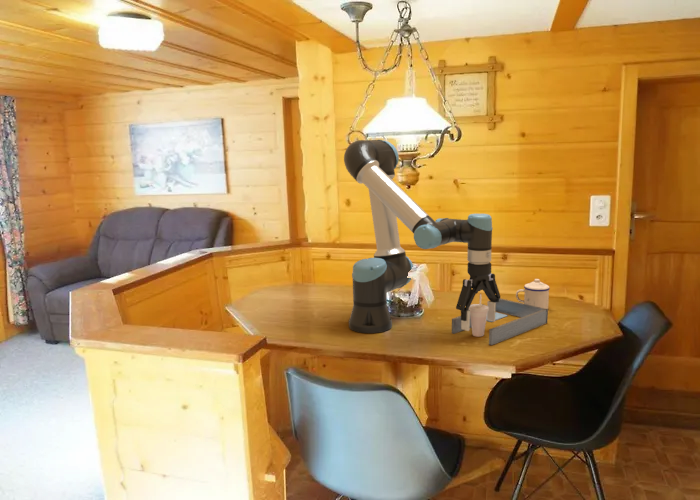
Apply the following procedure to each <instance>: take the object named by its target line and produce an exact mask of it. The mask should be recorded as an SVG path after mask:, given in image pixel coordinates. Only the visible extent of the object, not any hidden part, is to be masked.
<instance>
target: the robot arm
mask: <svg viewBox="0 0 700 500" xmlns="http://www.w3.org/2000/svg"><path fill="white" fill-rule="evenodd" d="M399 158H400V157H399V152H398V150H397V148H396V146H395V145H394V144H393V143H392V142H390V141H388V140H383V139H369V140H368V139H367V140H366V139H359V140H355V141H353V142H352V143H350V144H349V145H348V147H347V148H346V149H345V151H344V156H343V164H344V166H345V169H346V170H347V172H348V173H349V174H350V176H351V177H352V178H353V179H354V180H355V181H356V183H358V184H361V185H362V184H363V185H364V186H366V188H367V190H368V197H369V200H370V201H369V202H370V209H371V216H372V222H373V223H372V224H373V231H374V238H375V244H376V251H375V252H374V253H373V257H369V258H363V259H360V260H357V261H356V262H355V263H354V264H353V265H352V273H351V277H352V296H353V298H352V299H353V301H352V302H353V304H352V309H351V313H350V317H349V319H348V328H349V329H350V330H351V331H354V332H356V333H361V334H376V333H378V334H379V333H382V332H383V333H384V332H386V331H389V330H390V329H392V327H393V319H392V317H391V314H390V311H389V307H388V302H387V301H388V295H387V294H388V293H389V292H391V291H394V290H398V289H400V288H403V287H404V286H406V285H408V284H409V283H410V282H411V280H412V279H411V278H407V276H408V272H409V271H410V270H411V269H412V267H414V263H413V262H412V260H411V259H410V257H408V256H407V255H406V253H407V252H406V250H405V249H404V248H403V247H401V242H400V240H401V239H400V233H399V227H398V220H400V221H401V223H402V224H404V226H406V228H407V229H409V231H410V232H412V234H413V241H414V242H415V245H416V246H417V247H418V248H420V249H423V250H428V249H435V248H437V247H439V246H442V245H443V246H444V245H446V244H450V243H464V244H467V262H468V263H467V271H466V272H467V274H468V275H469V279H466V278H465V279H464V278H463V280H462V287H461V290H460V293H459V297H458V299H457V302H456V306H455V309H456V310H458V311H460V316H461V329H463V331H466V332H469V331H470V329H471V328H470V311H468V309H469V307H470V305H472V303H473V301H474V299H475V296H476V294H479V292H481V291H483V292H484V293H485V296H486V297H487V299H488V300H487V303H486V304H487V306H488V307H489V308H488V309H489V310H488V311H487V320H489V321H493V322H496V321H495V312H496V311H495V310H496V302H499V299H500V298H501V295H500V290H499V288H498V284H497V280H496V274H495V273H492V263H491V261H492V247H493V246H492V242H493V241H492V240H493V221H492V216H491V215H490V214H489V213H471V214H470V213H469V215H468V216H467V219H459V218H458V219H457V218H449V217H446V218H436V219H435V220H434V219H433V218H432V217H431V216H430V215H429V214H428V213H427V212H426V211H425V210H424V209H423V207H421V206H420V205H419V204H418V203H417V202H416V201H415V200H414V199H412V198H411V197H410V195H408V194H407V193H406V192H405V191H404V190H403V189H402V188H401V187H400V186H399V185H398V184H397V182H395V181H394V178H395V177H396V173H395V169H396V168H397V165H398V164H399V161H400V159H399ZM489 321H488V322H489ZM493 322H492V323H493Z"/></svg>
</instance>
